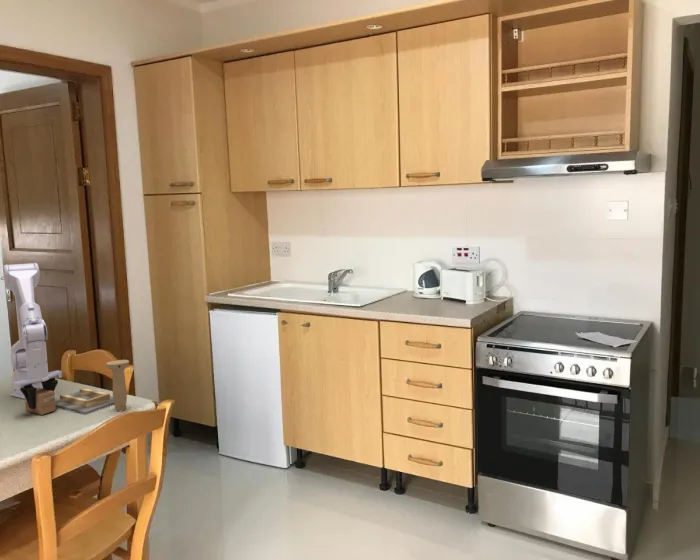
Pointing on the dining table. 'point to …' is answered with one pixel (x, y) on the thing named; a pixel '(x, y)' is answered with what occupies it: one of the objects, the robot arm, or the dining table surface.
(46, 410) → the cabinet block
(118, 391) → the handle
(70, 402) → the cradle
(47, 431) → the dining table surface
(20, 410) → the dining table surface
